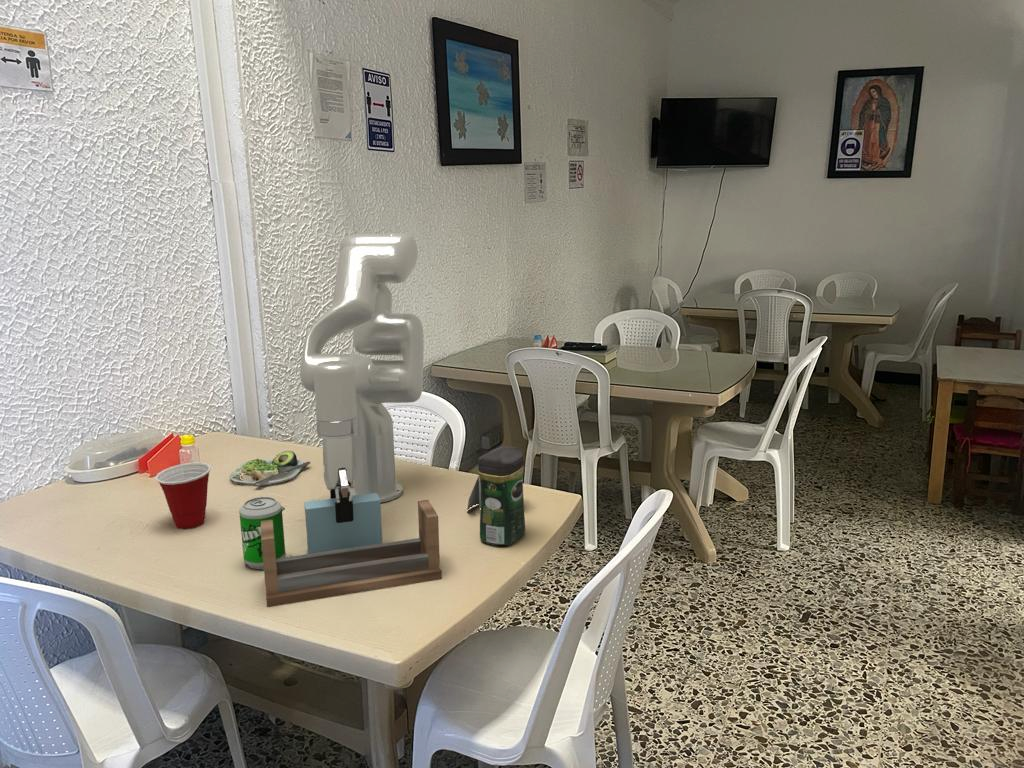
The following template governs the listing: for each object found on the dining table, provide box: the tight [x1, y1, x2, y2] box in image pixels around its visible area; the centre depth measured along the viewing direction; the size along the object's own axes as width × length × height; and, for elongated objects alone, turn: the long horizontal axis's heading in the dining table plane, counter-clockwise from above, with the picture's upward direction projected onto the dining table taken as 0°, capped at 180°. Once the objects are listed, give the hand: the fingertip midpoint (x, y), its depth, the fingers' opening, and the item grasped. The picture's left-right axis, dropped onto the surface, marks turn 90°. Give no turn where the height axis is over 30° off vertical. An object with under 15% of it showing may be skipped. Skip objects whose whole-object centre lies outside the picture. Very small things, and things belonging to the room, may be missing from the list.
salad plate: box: [228, 450, 311, 487], centre depth 189 cm, size 19×18×5 cm
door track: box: [261, 499, 443, 608], centre depth 136 cm, size 11×30×12 cm, turn 109°
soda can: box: [238, 496, 286, 570], centre depth 142 cm, size 8×8×12 cm
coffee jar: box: [477, 445, 526, 546], centre depth 151 cm, size 10×8×19 cm
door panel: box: [303, 493, 383, 554], centre depth 148 cm, size 4×14×10 cm, turn 108°
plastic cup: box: [154, 461, 212, 530], centre depth 160 cm, size 11×11×12 cm
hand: (341, 512), depth 147 cm, fingers open, 9 cm apart
